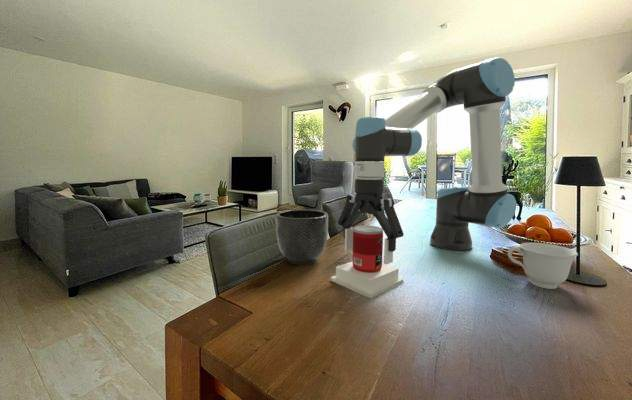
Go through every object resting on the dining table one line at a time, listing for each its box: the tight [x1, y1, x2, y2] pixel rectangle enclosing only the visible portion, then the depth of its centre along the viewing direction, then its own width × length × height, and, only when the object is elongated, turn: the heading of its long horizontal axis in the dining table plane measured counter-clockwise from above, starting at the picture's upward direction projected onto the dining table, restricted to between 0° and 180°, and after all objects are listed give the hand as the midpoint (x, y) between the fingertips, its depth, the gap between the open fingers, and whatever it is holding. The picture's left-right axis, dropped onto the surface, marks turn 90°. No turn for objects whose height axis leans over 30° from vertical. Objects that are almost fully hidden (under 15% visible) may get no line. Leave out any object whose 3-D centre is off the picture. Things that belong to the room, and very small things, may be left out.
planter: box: [275, 209, 329, 266], centre depth 95 cm, size 17×17×16 cm
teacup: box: [507, 242, 579, 290], centre depth 77 cm, size 12×15×10 cm
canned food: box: [352, 225, 384, 273], centre depth 78 cm, size 8×8×11 cm
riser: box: [330, 260, 404, 299], centre depth 79 cm, size 14×14×4 cm
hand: (367, 256), depth 78 cm, fingers open, 13 cm apart
